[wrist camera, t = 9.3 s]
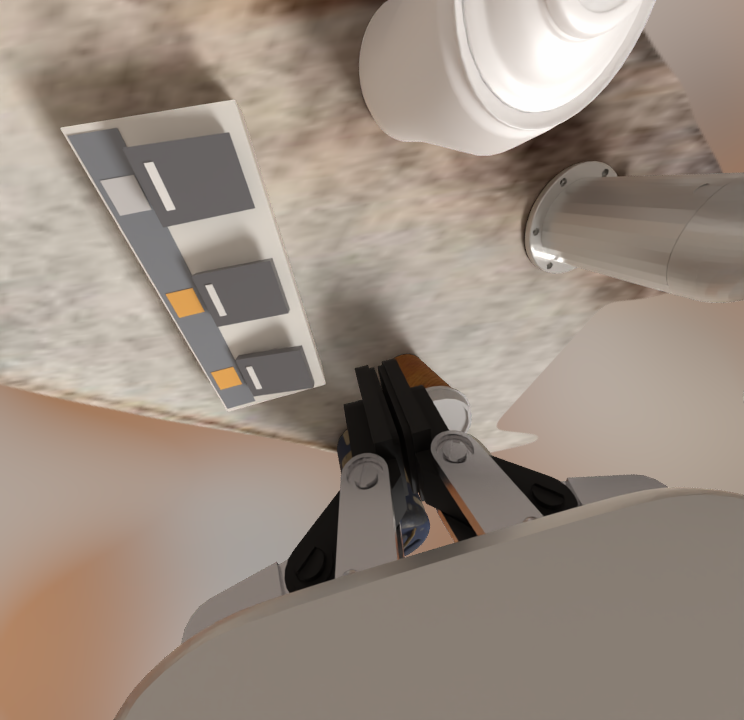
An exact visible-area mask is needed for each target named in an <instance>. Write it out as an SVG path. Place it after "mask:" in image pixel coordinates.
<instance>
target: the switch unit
mask: <svg viewBox="0 0 744 720" xmlns="http://www.w3.org/2000/svg"><path fill="white" fill-rule="evenodd" d="M60 129H61V131H62V132H63V134H64V136H65V137H66V139H67V141H68V143H69V144H70V146H71V148H72V149H73V151H74V153H75V154H76V156H77V158H78V159H79V161H80V163H81V165H82V166H83V168H84V170H85V171H86V173H87V175H88V176H89V178H90V180H91V181H92V183H93V185H94V187H95V188H96V190H97V192H98V193H99V195H100V197H101V198H102V200H103V202H104V203H105V205H106V207H107V209H108V210H109V212H110V214H111V215H112V217H113V219H114V220H115V222H116V224H117V225H118V227H119V229H120V230H121V232H122V234H123V236H124V237H125V239H126V241H127V242H128V244H129V246H130V247H131V249H132V251H133V252H134V254H135V256H136V258H137V259H138V261H139V263H140V264H141V266H142V268H143V269H144V271H145V273H146V274H147V276H148V278H149V280H150V281H151V283H152V285H153V286H154V288H155V290H156V291H157V293H158V295H159V296H160V298H161V300H162V302H163V303H164V305H165V307H166V308H167V310H168V312H169V313H170V315H171V317H172V318H173V320H174V322H175V324H176V325H177V327H178V329H179V330H180V332H181V334H182V335H183V337H184V339H185V340H186V342H187V344H188V346H189V347H190V349H191V351H192V352H193V354H194V356H195V357H196V359H197V361H198V362H199V364H200V366H201V368H202V369H203V371H204V373H205V374H206V376H207V378H208V379H209V381H210V383H211V384H212V386H213V388H214V390H215V391H216V393H217V395H218V396H219V398H220V400H221V401H222V403H223V405H224V406H225V408H226V410H227V411H228V412H229V411H233V410H236V409H240V408H243V407H247V406H250V405H254V404H258V403H261V402H265V401H268V400H272V399H276V398H279V397H283V396H286V395H290V394H293V393H297V392H301V391H304V390H308V389H303V390H296V391H289V392H282V393H275V394H268V395H261V396H254V397H253V395H252V393H251V391H250V389H249V387H248V385H247V383H246V381H245V379H244V377H243V375H242V373H241V371H240V369H239V367H238V365H237V363H236V361H235V360H236V358H237V357H238V355H242V354H249V353H255V352H262V351H268V350H274V349H281V348H287V347H294V346H300V345H302V347H303V350H304V353H305V356H306V358H307V361H308V364H309V367H310V370H311V373H312V376H313V379H314V382H315V384H314V388H315V387H319V386H322V385H326V383H325V377H324V371H323V367H322V363H321V360H320V357H319V354H318V351H317V348H316V344H315V341H314V338H313V335H312V332H311V328H310V325H309V322H308V319H307V316H306V313H305V309H304V306H303V303H302V300H301V297H300V294H299V290H298V287H297V284H296V281H295V278H294V274H293V271H292V268H291V265H290V262H289V259H288V255H287V252H286V249H285V246H284V243H283V240H282V236H281V233H280V230H279V227H278V224H277V220H276V217H275V214H274V211H273V208H272V205H271V201H270V198H269V195H268V192H267V189H266V185H265V182H264V179H263V176H262V173H261V170H260V166H259V163H258V160H257V157H256V154H255V151H254V147H253V144H252V141H251V138H250V135H249V131H248V128H247V125H246V122H245V119H244V116H243V112H242V110H241V109H240V107H239V106H238V104H237V102H236V101H235V99H234V100H228V101H222V102H215V103H209V104H203V105H197V106H191V107H185V108H178V109H172V110H166V111H160V112H154V113H148V114H141V115H135V116H129V117H123V118H117V119H110V120H104V121H98V122H92V123H86V124H80V125H73V126H67V127H61V128H60ZM227 132H229V133H230V136H231V139H232V142H233V145H234V147H235V150H236V153H237V156H238V159H239V162H240V165H241V168H242V171H243V174H244V177H245V180H246V182H247V185H248V188H249V191H250V194H251V197H252V200H253V203H254V206H255V208H254V209H249V210H244V211H240V212H235V213H230V214H225V215H221V216H216V217H211V218H207V219H202V220H197V221H192V222H188V223H183V224H178V225H173V226H169V227H164V228H163V227H162V225H161V223H160V221H159V219H158V217H157V215H156V213H155V211H154V209H153V207H152V205H151V203H150V201H149V199H148V197H147V195H146V194H145V192H144V190H143V188H142V186H141V184H140V182H139V180H138V178H137V176H136V174H135V172H134V170H133V168H132V166H131V164H130V162H129V160H128V159H127V157H126V155H125V153H124V151H123V149H122V148H124V147H131V146H138V145H145V144H152V143H159V142H165V141H172V140H179V139H186V138H193V137H200V136H207V135H213V134H220V133H227ZM269 258H273V261H274V264H275V267H276V270H277V273H278V276H279V279H280V282H281V285H282V287H283V290H284V293H285V296H286V299H287V302H288V305H289V308H290V311H289V313H288V314H283V315H277V316H272V317H267V318H262V319H257V320H252V321H246V322H241V323H236V324H231V325H226V326H220V327H217V326H216V324H215V322H214V320H213V318H212V316H211V314H210V312H209V310H208V308H207V306H206V304H205V302H204V300H203V298H202V296H201V294H200V292H199V290H198V289H197V287H196V285H195V283H194V281H193V279H192V277H191V276H192V275H193V274H195V273H197V272H203V271H208V270H213V269H218V268H223V267H228V266H233V265H238V264H243V263H249V262H254V261H259V260H264V259H269ZM310 389H311V388H310Z"/></svg>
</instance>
